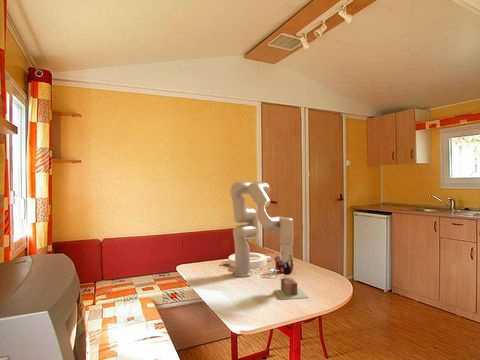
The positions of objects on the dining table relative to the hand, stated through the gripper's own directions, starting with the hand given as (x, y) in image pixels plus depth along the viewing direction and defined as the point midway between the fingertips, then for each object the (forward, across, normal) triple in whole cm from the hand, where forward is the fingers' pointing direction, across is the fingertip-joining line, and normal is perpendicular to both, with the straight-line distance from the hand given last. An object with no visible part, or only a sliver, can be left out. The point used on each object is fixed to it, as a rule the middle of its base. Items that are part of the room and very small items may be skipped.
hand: (287, 274), depth 161 cm
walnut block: (+5, -2, 0) cm, 6 cm away
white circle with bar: (+9, -59, -11) cm, 61 cm away
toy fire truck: (+9, -33, +8) cm, 35 cm away
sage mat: (+9, +6, 0) cm, 10 cm away
